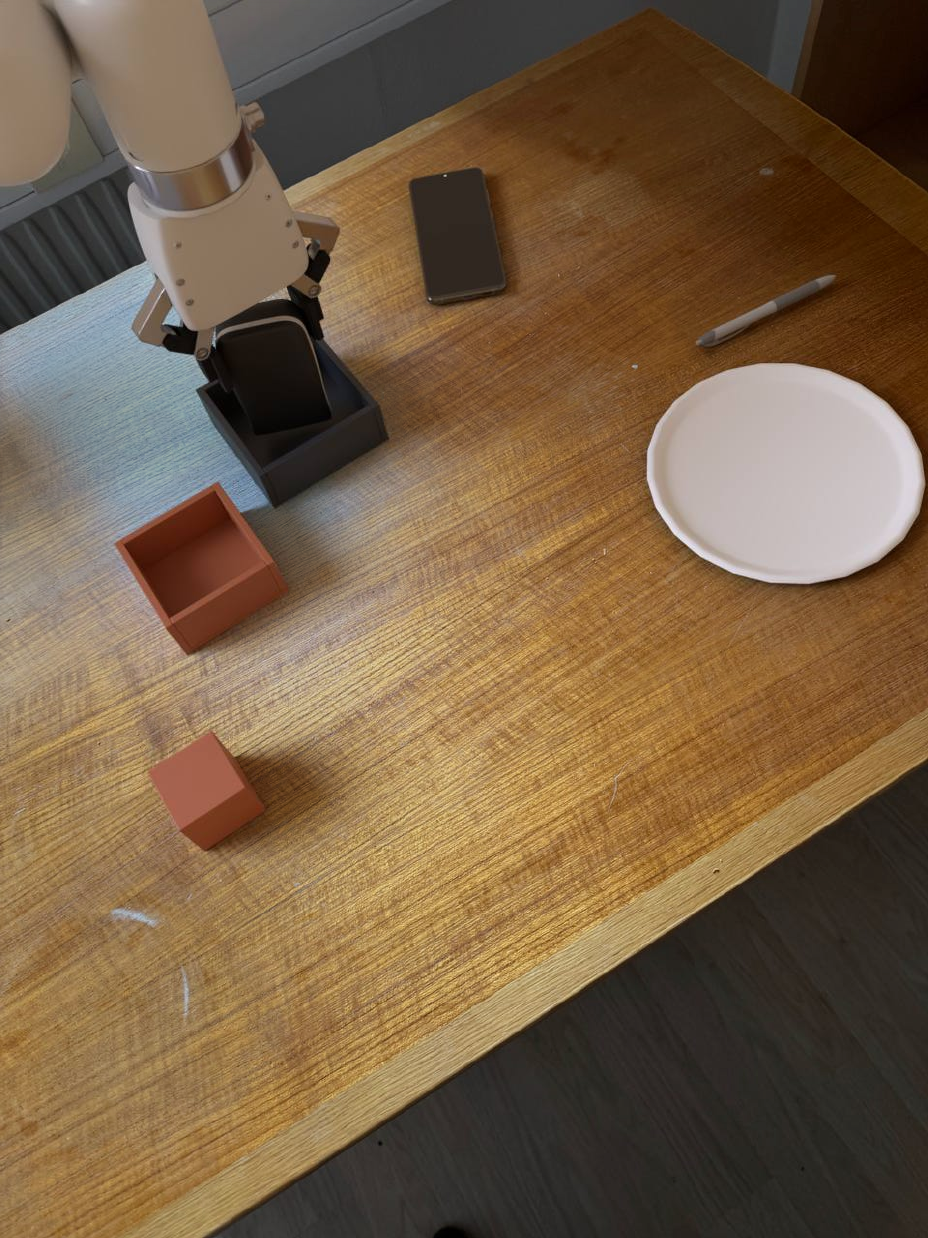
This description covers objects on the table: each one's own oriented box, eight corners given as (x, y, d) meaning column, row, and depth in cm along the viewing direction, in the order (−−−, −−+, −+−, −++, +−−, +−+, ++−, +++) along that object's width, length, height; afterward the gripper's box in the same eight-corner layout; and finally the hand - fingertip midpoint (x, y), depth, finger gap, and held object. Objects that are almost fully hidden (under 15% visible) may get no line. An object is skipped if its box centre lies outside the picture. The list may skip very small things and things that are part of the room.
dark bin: (274, 509, 84) (259, 476, 81) (212, 423, 89) (194, 389, 85) (389, 439, 87) (379, 404, 83) (322, 359, 91) (310, 323, 88)
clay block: (204, 851, 72) (179, 831, 67) (172, 795, 74) (146, 772, 69) (266, 810, 72) (245, 787, 68) (233, 756, 75) (211, 730, 70)
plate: (762, 641, 74) (764, 633, 73) (593, 451, 84) (593, 442, 83) (982, 498, 78) (987, 488, 77) (796, 332, 87) (799, 321, 86)
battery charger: (330, 387, 87) (297, 284, 77) (336, 421, 85) (302, 321, 75) (248, 404, 87) (204, 304, 77) (252, 440, 85) (208, 342, 75)
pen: (692, 347, 88) (693, 335, 86) (830, 280, 90) (833, 267, 88) (698, 354, 87) (700, 343, 86) (837, 287, 89) (841, 274, 88)
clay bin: (186, 655, 79) (165, 628, 75) (136, 572, 83) (113, 543, 79) (289, 590, 81) (274, 561, 77) (235, 513, 85) (217, 481, 81)
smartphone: (426, 301, 92) (407, 177, 99) (428, 309, 93) (408, 187, 100) (508, 286, 92) (482, 164, 99) (509, 295, 93) (483, 173, 100)
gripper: (281, 66, 67) (338, 273, 83) (40, 189, 64) (146, 381, 80) (340, 124, 64) (387, 328, 80) (89, 256, 61) (190, 442, 76)
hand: (266, 353), depth 80 cm, fingers closed on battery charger, 7 cm apart
